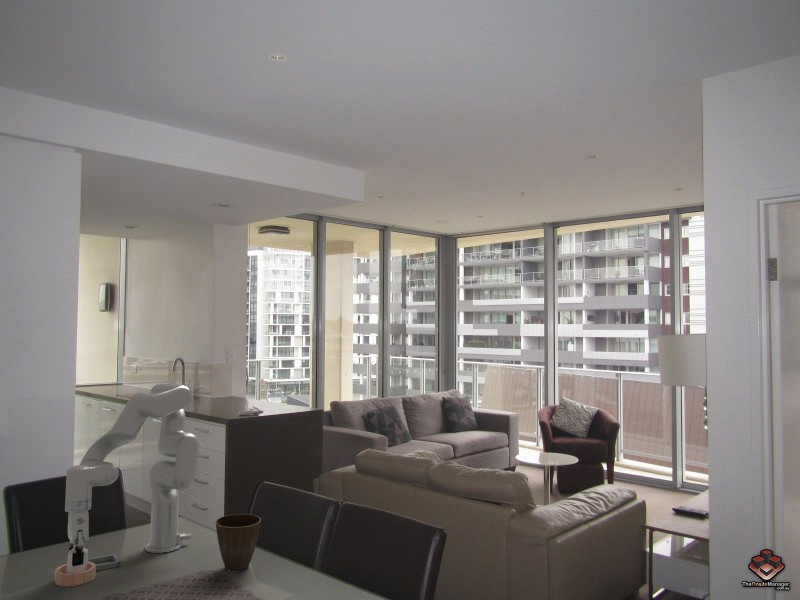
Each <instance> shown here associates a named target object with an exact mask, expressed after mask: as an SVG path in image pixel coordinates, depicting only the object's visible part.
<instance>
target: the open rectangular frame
mask: <svg viewBox="0 0 800 600" xmlns="http://www.w3.org/2000/svg"><path fill="white" fill-rule="evenodd" d="M107 560H108V561H112V562H107V563H101V562H102V561H103V562H106V561H107ZM87 562H92V563H95V565H96V572H97V571H101V570H106V569H107V570H108V569H111V568H118V567H121V561H120V559H119V557H117V555H116V554H115V553H114V554H109V555H104V556H97V557H91V558H87ZM96 563H101V564H96ZM117 566H118V567H117Z"/></svg>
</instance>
